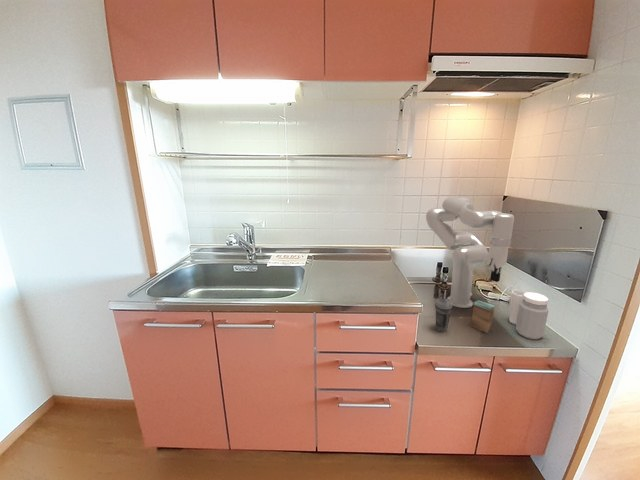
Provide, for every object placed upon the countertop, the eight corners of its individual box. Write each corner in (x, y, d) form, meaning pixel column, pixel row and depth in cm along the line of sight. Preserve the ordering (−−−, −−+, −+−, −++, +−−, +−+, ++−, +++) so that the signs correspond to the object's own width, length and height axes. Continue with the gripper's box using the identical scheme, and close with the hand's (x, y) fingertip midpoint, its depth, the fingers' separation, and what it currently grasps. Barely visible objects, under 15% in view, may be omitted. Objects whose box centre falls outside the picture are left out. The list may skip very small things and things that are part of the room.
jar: (549, 338, 116) (557, 300, 111) (529, 342, 114) (537, 303, 110) (527, 326, 125) (534, 290, 121) (509, 329, 123) (515, 292, 119)
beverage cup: (449, 326, 127) (453, 286, 122) (450, 334, 121) (455, 293, 115) (432, 323, 130) (435, 284, 125) (433, 331, 123) (436, 291, 118)
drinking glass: (514, 317, 133) (518, 288, 129) (528, 324, 126) (533, 294, 123) (503, 320, 131) (508, 291, 127) (517, 327, 124) (522, 297, 121)
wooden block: (475, 323, 129) (478, 299, 126) (491, 329, 123) (494, 305, 120) (470, 326, 127) (473, 302, 124) (487, 332, 121) (490, 308, 118)
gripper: (498, 237, 127) (492, 274, 131) (483, 243, 118) (478, 282, 123) (516, 240, 121) (510, 278, 126) (502, 246, 112) (496, 287, 117)
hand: (494, 280), depth 124 cm, fingers closed
